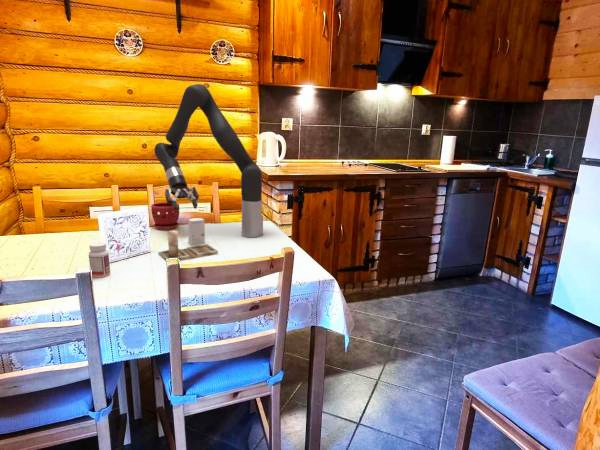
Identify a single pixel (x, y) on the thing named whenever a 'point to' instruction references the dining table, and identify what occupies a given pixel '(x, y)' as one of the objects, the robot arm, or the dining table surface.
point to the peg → (173, 243)
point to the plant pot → (165, 216)
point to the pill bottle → (99, 259)
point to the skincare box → (196, 231)
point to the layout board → (191, 252)
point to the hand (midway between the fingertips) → (186, 208)
